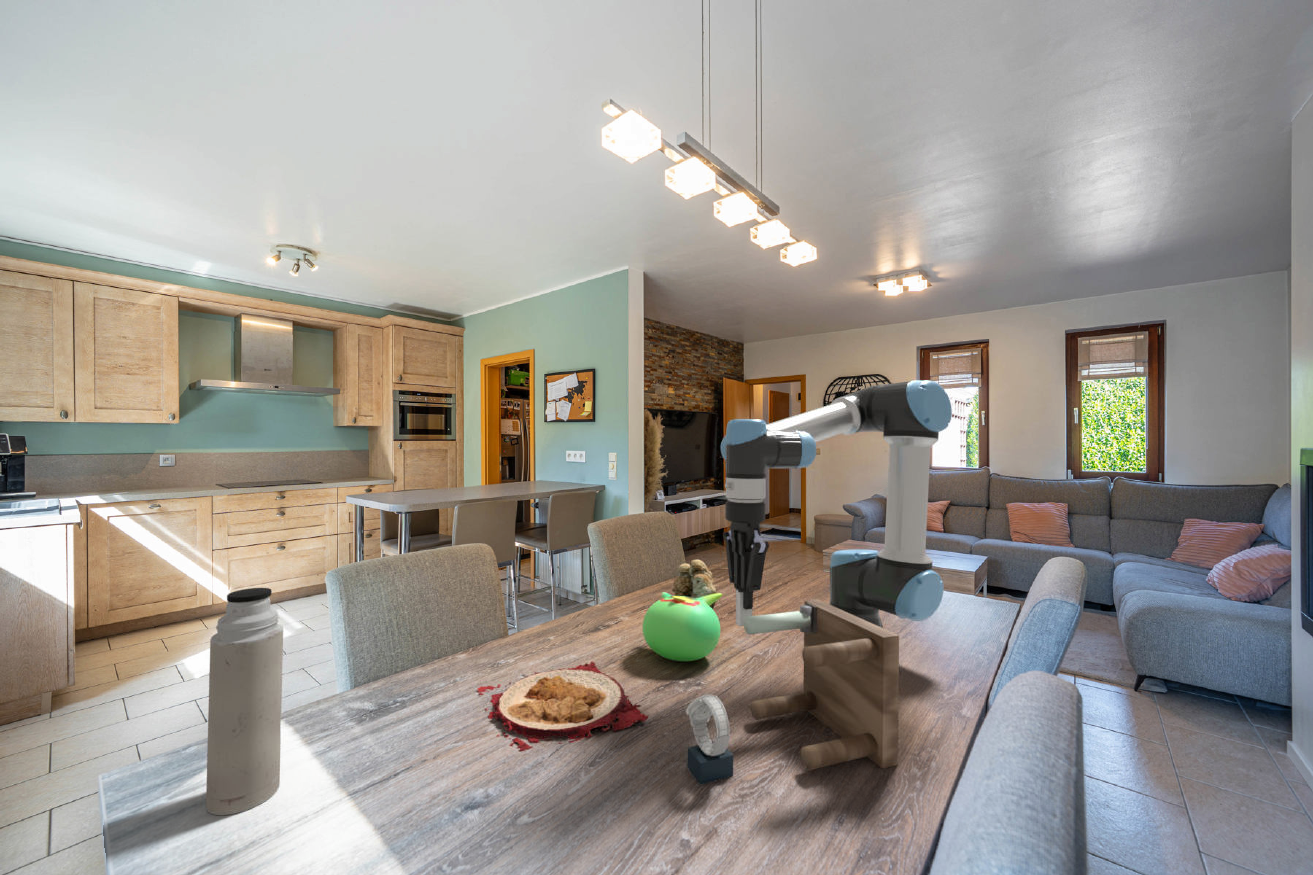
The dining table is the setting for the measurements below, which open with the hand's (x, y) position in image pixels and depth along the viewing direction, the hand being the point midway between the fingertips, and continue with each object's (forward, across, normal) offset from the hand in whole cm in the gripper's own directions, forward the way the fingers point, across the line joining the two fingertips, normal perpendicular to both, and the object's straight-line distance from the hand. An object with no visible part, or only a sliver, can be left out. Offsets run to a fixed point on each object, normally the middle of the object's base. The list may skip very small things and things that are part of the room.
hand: (744, 624), depth 101 cm
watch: (+15, +16, -16) cm, 27 cm away
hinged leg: (0, +7, +3) cm, 8 cm away
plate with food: (+16, -11, -33) cm, 38 cm away
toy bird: (+15, -24, -2) cm, 29 cm away
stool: (+15, +15, +5) cm, 22 cm away
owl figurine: (+16, -46, +12) cm, 50 cm away
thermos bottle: (+15, -1, -78) cm, 80 cm away
